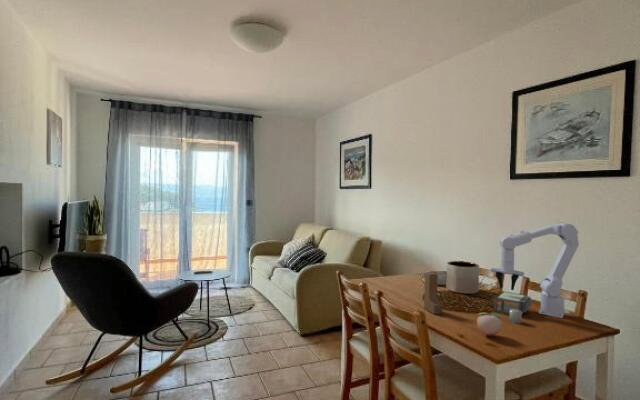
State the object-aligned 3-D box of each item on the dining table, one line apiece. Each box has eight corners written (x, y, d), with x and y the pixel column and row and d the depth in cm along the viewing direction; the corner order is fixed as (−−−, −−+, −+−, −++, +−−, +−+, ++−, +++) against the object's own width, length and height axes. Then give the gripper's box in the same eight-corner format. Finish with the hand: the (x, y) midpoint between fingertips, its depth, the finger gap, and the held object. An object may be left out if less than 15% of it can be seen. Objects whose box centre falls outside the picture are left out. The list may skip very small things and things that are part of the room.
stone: (522, 321, 158) (522, 310, 158) (520, 324, 155) (520, 313, 154) (510, 318, 161) (510, 308, 161) (508, 321, 158) (508, 310, 157)
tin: (450, 284, 220) (451, 271, 220) (452, 286, 217) (452, 272, 217) (426, 283, 222) (426, 270, 221) (427, 285, 218) (427, 271, 218)
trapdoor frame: (527, 309, 174) (527, 295, 174) (520, 317, 163) (521, 302, 163) (501, 304, 182) (502, 291, 182) (494, 311, 171) (494, 297, 170)
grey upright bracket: (442, 314, 166) (443, 276, 166) (434, 314, 165) (434, 276, 165) (432, 307, 175) (432, 271, 175) (423, 308, 174) (424, 272, 174)
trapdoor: (530, 306, 172) (531, 296, 172) (525, 312, 163) (526, 302, 163) (503, 300, 180) (504, 292, 180) (497, 306, 171) (497, 297, 171)
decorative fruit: (480, 339, 138) (480, 314, 138) (474, 331, 146) (475, 307, 146) (505, 341, 137) (506, 315, 136) (499, 333, 145) (499, 309, 144)
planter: (458, 295, 196) (459, 267, 196) (440, 287, 213) (440, 261, 213) (485, 293, 201) (486, 266, 201) (465, 285, 218) (465, 260, 218)
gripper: (526, 262, 172) (525, 289, 172) (493, 258, 181) (493, 284, 181) (522, 264, 166) (522, 292, 167) (489, 260, 176) (489, 287, 176)
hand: (506, 288), depth 174 cm, fingers open, 4 cm apart
